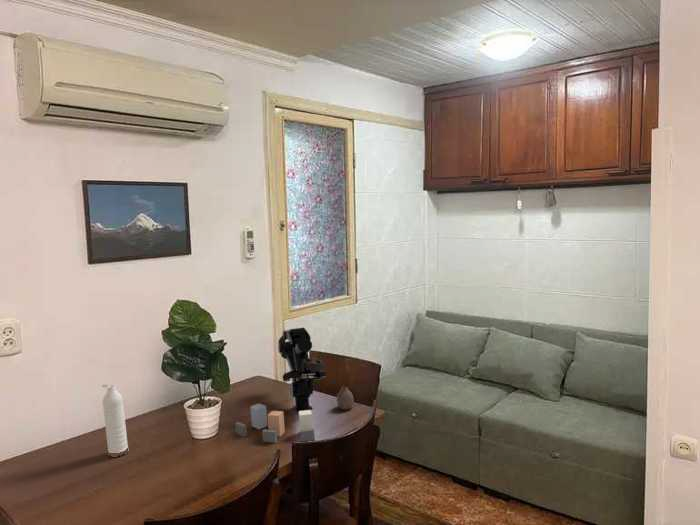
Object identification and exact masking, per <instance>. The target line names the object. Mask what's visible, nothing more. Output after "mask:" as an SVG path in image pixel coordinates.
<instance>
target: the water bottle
mask: <svg viewBox="0 0 700 525" xmlns="http://www.w3.org/2000/svg"><path fill="white" fill-rule="evenodd" d="M110 384H111V383H110V382H104V383H102V384H101V387H102V388H107V389H106V390H107V391H106V393H105V395H104V397H103V399H102V407H103V409H102V410H103V414H104V416H103V417H104V425H105V427H104V428H105V434H106V442H107V453H108V452H109V453H120V452H123V451H125V450H126V449H127V448H128V449H129V444H128V437H127V436H128V435H127V427H126V426H127V425H126V418H125V409H124V398H123V396H122V394H121V393H120V392H119V391H118V390H117V389H116V385H114V384H112V385H110Z"/></svg>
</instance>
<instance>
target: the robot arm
mask: <svg viewBox="0 0 700 525" xmlns="http://www.w3.org/2000/svg"><path fill="white" fill-rule="evenodd" d="M311 339H312V338H311V335H310V334H309V332H308V331H307V329H306V328H305V327H295V328H290V329H288V330H284V331H282V335H281V336H280V338H279V339H278V340H277V341H278V342H277V344H278V345H277V350H278V353H279V354H280V356H281V358H283V359H285V360H286V361H287V365H288V367H289V371H287V372H284V373H283V374H282V382H290V381H291V382H290V387H289V392H290V395H291V397H292V398H294V402H295V403H294V404H295V405H293V406H292V408H293V409H294V410H295V411H296V412H297V413H299V411H305V410H312V409H313V407H312V406H311V405H310V397H311V395H313V393H314V382H315V381H318V380H321V379H323V378H326V377H327V375H326V371H325V370H324V366H325V363H324V360H320V359H319V360H316V362H315V361H314V362H313V359H312V358H310V357H309V352H310V351H311V349H312V348H313V343H312V341H311ZM286 340H288V341H286Z"/></svg>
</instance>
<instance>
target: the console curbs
mask: <svg viewBox="0 0 700 525" xmlns="http://www.w3.org/2000/svg"><path fill="white" fill-rule="evenodd" d="M234 426H235V434H236V435H238V436H240V437H243V438H245V437H247V436H248V429H247V425H246V424H244V423H242V422H239V421H237V422H235V423H234ZM261 432H262V435H261V436H262V442H263V443H274V444H276V443H277V442H278V436H277V430H269V429H265V428H263V429H262V431H261ZM299 437H300V442H301V441H309V442H312V441H311V440H315V438H316V437H315V428H314V427H313V429H305V430H300V429H299ZM315 441H316V440H315Z"/></svg>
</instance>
